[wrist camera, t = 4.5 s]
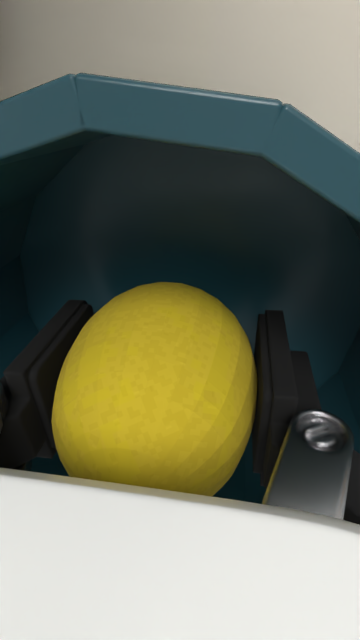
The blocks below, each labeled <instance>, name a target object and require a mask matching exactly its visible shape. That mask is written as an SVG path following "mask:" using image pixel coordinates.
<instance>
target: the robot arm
mask: <svg viewBox="0 0 360 640" xmlns="http://www.w3.org/2000/svg"><path fill="white" fill-rule="evenodd" d="M93 315H94V312H93V308H92V305H90V304H88V303H87V301H85V300H68V301H67V302H66V303H65V304H64V305H63V306H62V307H61V309H60V310H59V311H58V312H57V313H56V314H55V315H54V316H53V317H52V319H51V320H50V321H49V322H48V323H47V324H46V325H45V326H44V327H43V328H42V330H41V331H40V332H39V333H38V334H37V335H36V336H35V337H34V338H33V339H32V341H31V342H30V343H29V344H28V345H27V346H26V347H25V348H24V349H23V351H22V352H21V353H20V354H19V355H18V356H17V357H16V358H15V359H14V360H13V362H12V363H11V364H10V365H9V366H8V367H7V368H6V369H5V370H4V371H3V374H4V376H3V377H2V378H1V379H0V640H360V454H359V453H358V452H356V451H355V450H354V449H353V448H354V435H353V433H352V431H351V429H350V427H349V426H348V425H347V424H346V423H345V422H344V421H343V420H342V419H340V418H339V417H337V416H336V415H334V414H332V413H330V412H327V411H324V410H322V409H321V405H320V401H319V397H318V393H317V389H316V385H315V381H314V377H313V373H312V369H311V365H310V361H309V357H308V354H307V352H305V351H291V350H290V348H289V342H288V336H287V331H286V325H285V320H284V314H283V311H282V310H265V313H264V314H258V321H257V330H256V340H255V350H254V361H255V365H256V370H257V400H256V411H255V419H254V423H253V428H252V453H253V473H260V486H264V487H265V488H266V492H265V495H264V498H263V501H262V504H258V503H251V502H245V501H239V500H232V499H225V498H218V497H211V496H204V495H197V494H190V493H183V492H176V491H169V490H162V489H155V488H148V487H141V486H134V485H126V484H119V483H112V482H105V481H97V480H90V479H83V478H75V477H68V476H60V475H53V474H46V473H38V472H31V467H32V459H34V458H36V457H42V458H50V459H52V458H53V457H54V455H55V453H56V451H57V450H56V446H55V441H54V436H53V430H52V409H53V403H54V397H55V391H56V386H57V381H58V378H59V375H60V371H61V368H62V366H63V363H64V361H65V358H66V356H67V354H68V352H69V350H70V349H71V347H72V345H73V343H74V342H75V340H76V338H77V336H78V335H79V333H80V331H81V330H82V328H83V327H84V325H85V324H86V323H87V321H88V320H89V319H90V318H91V317H92V316H93Z"/></svg>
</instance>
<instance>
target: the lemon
mask: <svg viewBox="0 0 360 640" xmlns="http://www.w3.org/2000/svg"><path fill="white" fill-rule="evenodd" d="M256 400H257V370H256V365H255V361H254V357H253V353H252V349H251V345H250V342H249V339H248V337H247V335H246V333H245V331H244V330H243V328H242V326H241V325H240V323H239V321H238V320H237V318H236V317H235V315H234V314H233V313H232V312H231V311H230V310H229V309H228V308H227V307H226V306H225V305H224V304H223V303H222V302H221V301H219V300H218V299H217V298H215V297H214V296H212V295H210V294H208V293H207V292H205V291H203V290H201V289H199V288H196V287H193V286H189V285H186V284H183V283H174V282H156V283H151V284H145V285H140V286H137V287H135V288H132V289H130V290H128V291H126V292H124V293H121V294H119V295H117V296H116V297H114V298H113V299H111V300H110V301H109V302H108V303H107V304H105V305H104V306H103V307H102V308H101V309H100V310H99V311H97V312H96V313H95V314H94V315H93V316H92V317H91V318H90V319H89V320H88V321H87V323H86V324H85V325H84V327H83V328H82V330H81V331H80V333H79V335H78V336H77V338H76V340H75V342H74V343H73V345H72V347H71V349H70V350H69V352H68V354H67V356H66V358H65V361H64V363H63V366H62V368H61V371H60V375H59V378H58V381H57V386H56V391H55V397H54V403H53V409H52V430H53V436H54V441H55V446H56V450H57V453H58V455H59V458H60V461H61V462H62V464H63V466H64V468H65V469H66V471H67V473H68V475H69V477H75V478H83V479H90V480H97V481H105V482H112V483H119V484H126V485H134V486H141V487H148V488H155V489H162V490H169V491H176V492H183V493H190V494H197V495H204V496H211V497H212V496H213V495H214V494H215V493H216V492H217V491H218V490H220V489H221V488H222V487H223V486H224V484H225V483H226V482H227V481H228V480H229V479H230V477H231V476H232V474H233V473H234V471H235V469H236V467H237V465H238V463H239V461H240V459H241V457H242V455H243V453H244V451H245V448H246V446H247V443H248V441H249V438H250V434H251V431H252V428H253V423H254V419H255V411H256Z"/></svg>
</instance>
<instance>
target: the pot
mask: <svg viewBox="0 0 360 640" xmlns="http://www.w3.org/2000/svg"><path fill="white" fill-rule="evenodd" d="M156 282H174V283H183V284H186V285H189V286H193V287H196V288H199V289H201V290H203V291H205V292H207V293H208V294H210V295H212V296H214V297H215V298H217V299H218V300H219V301H221V302H222V303H223V304H224V305H225V306H226V307H227V308H228V309H229V310H230V311H231V312H232V313H233V314H234V315H235V317H236V318H237V320H238V321H239V323H240V325H241V326H242V328H243V330H244V331H245V333H246V335H247V337H248V339H249V342H250V345H251V349H252V353H253V357H254V350H255V340H256V330H257V321H258V314H264V313H265V310H282V311H283V314H284V320H285V325H286V331H287V336H288V342H289V348H290V350H291V351H305V352H307V354H308V357H309V361H310V365H311V369H312V373H313V377H314V381H315V385H316V389H317V393H318V397H319V401H320V405H321V409H322V410H324V411H327V412H330V413H332V414H334V415H336V416H337V417H339V418H340V419H342V420H343V421H344V422H345V423H346V424H347V425H348V426H349V427H350V429H351V431H352V433H353V435H354V448H353V449H354V450H355V451H356V452H358V453H359V454H360V153H359V152H357V151H356V150H354V149H353V148H352V147H350V146H349V145H347V144H346V143H344V142H343V141H342V140H340V139H339V138H337V137H336V136H334V135H333V134H332V133H330V132H329V131H327V130H326V129H325V128H323V127H322V126H320V125H319V124H317V123H316V122H315V121H313V120H312V119H310V118H309V117H307V116H306V115H305V114H303V113H302V112H300V111H299V110H298V109H296V108H295V107H293V106H292V105H290V104H282V102H281V101H279V100H278V99H271V98H263V97H256V96H249V95H241V94H234V93H227V92H219V91H212V90H204V89H197V88H190V87H182V86H175V85H167V84H160V83H153V82H145V81H138V80H131V79H123V78H116V77H108V76H101V75H94V74H86V73H79V74H76V75H75V74H67V75H65V76H62V77H60V78H57V79H55V80H52V81H50V82H47V83H45V84H43V85H40V86H38V87H35V88H33V89H30V90H28V91H25V92H23V93H20V94H18V95H15V96H13V97H10V98H8V99H5V100H3V101H0V379H1V378H2V377H3V376H4V374H3V371H4V370H5V369H6V368H7V367H8V366H9V365H10V364H11V363H12V362H13V360H14V359H15V358H16V357H17V356H18V355H19V354H20V353H21V352H22V351H23V349H24V348H25V347H26V346H27V345H28V344H29V343H30V342H31V341H32V339H33V338H34V337H35V336H36V335H37V334H38V333H39V332H40V331H41V330H42V328H43V327H44V326H45V325H46V324H47V323H48V322H49V321H50V320H51V319H52V317H53V316H54V315H55V314H56V313H57V312H58V311H59V310H60V309H61V307H62V306H63V305H64V304H65V303H66V302H67V301H68V300H85V301H87V303H88V304H90V305H92V308H93V312H94V314H95V313H96V312H97V311H99V310H100V309H101V308H102V307H103V306H104V305H105V304H107V303H108V302H109V301H110V300H111V299H113V298H114V297H116V296H117V295H119V294H121V293H124V292H126V291H128V290H130V289H132V288H135V287H137V286H140V285H145V284H151V283H156ZM31 472H38V473H46V474H53V475H60V476H68V477H69V475H68V473H67V471H66V469H65V468H64V466H63V464H62V462H61V461H60V458H59V455H58V453H57V451H56V453H55V455H54V457H53V458H52V459H50V458H42V457H36V458H34V459H32V467H31ZM265 492H266V488H265V487H264V486H260V473H253V453H252V431H251V434H250V438H249V441H248V443H247V446H246V448H245V451H244V453H243V455H242V457H241V459H240V461H239V463H238V465H237V467H236V469H235V471H234V473H233V474H232V476H231V477H230V479H229V480H228V481H227V482H226V483H225V484H224V486H223V487H222V488H221V489H220V490H218V491H217V492H216V493H215V494H214V495H213V496H212V497H218V498H225V499H232V500H239V501H245V502H251V503H258V504H262V501H263V498H264V495H265Z"/></svg>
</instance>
